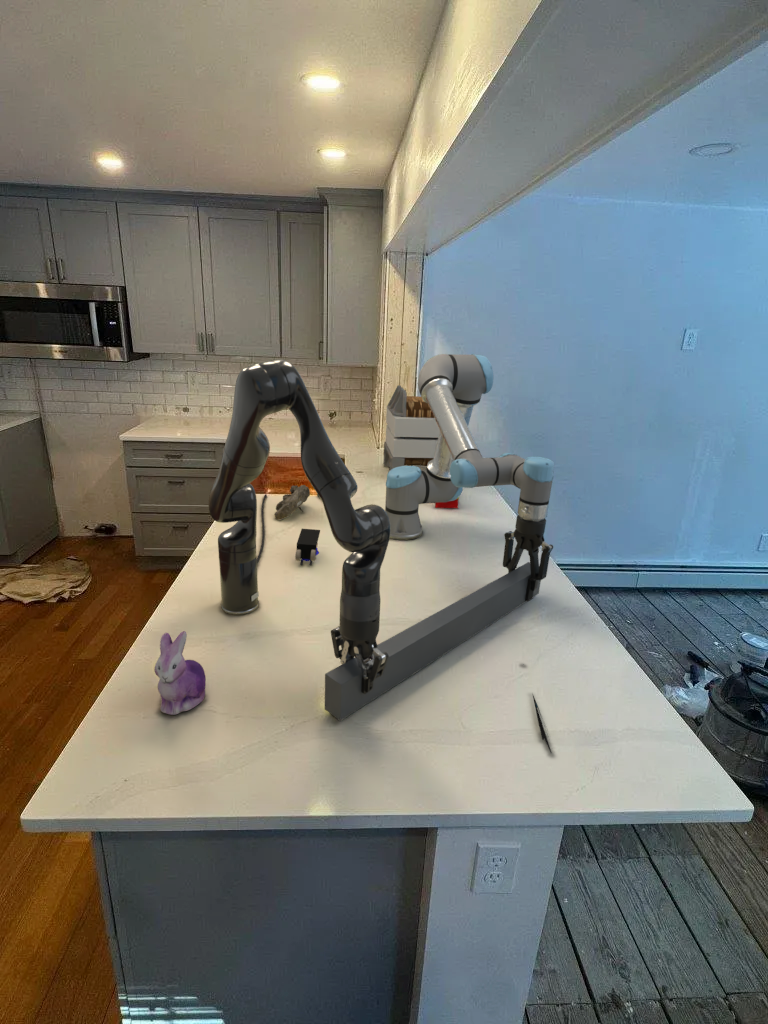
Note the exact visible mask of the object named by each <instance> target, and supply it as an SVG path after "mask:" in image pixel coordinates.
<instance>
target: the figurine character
mask: <svg viewBox="0 0 768 1024" xmlns="http://www.w3.org/2000/svg"><path fill="white" fill-rule="evenodd" d="M320 534H321V529H312V528H301V529H300V533H299V536H298V539H297V542H296V551H295V561H297V562H300V563H299V565H300V566H303V564H304V562H309V566H312V564H313V562H315V561H316V560H317V556H318V555H319V554H320V552H319V550H318V545H319V544H318V541H319V537H320Z"/></svg>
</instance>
